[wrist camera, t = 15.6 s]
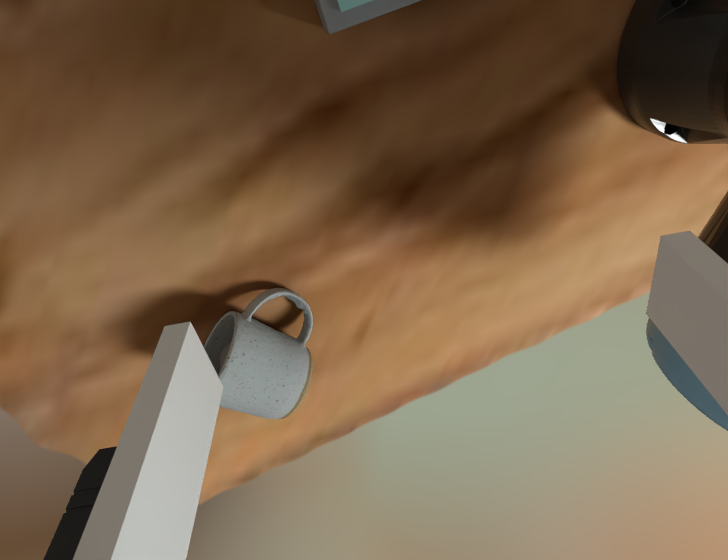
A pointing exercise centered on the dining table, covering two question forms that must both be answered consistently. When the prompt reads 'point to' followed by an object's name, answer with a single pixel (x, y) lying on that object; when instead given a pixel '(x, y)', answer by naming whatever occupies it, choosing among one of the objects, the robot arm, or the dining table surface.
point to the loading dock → (354, 11)
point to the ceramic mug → (261, 360)
